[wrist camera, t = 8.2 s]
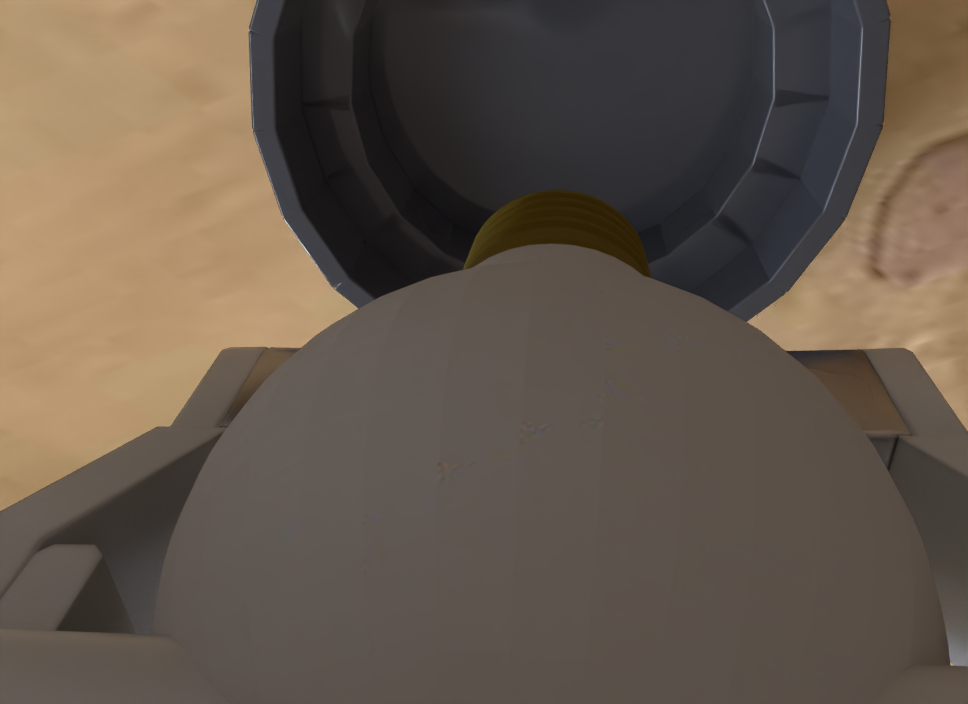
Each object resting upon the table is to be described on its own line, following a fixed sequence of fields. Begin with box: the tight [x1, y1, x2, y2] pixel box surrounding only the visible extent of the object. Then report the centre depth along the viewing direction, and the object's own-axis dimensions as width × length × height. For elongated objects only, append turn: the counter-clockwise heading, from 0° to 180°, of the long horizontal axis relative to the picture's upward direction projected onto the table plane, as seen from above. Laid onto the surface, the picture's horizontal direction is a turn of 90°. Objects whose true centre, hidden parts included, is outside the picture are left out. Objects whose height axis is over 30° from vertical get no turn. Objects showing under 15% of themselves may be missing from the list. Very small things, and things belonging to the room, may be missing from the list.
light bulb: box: [150, 190, 950, 704], centre depth 8 cm, size 6×6×10 cm
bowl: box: [249, 0, 891, 322], centre depth 20 cm, size 14×14×5 cm
